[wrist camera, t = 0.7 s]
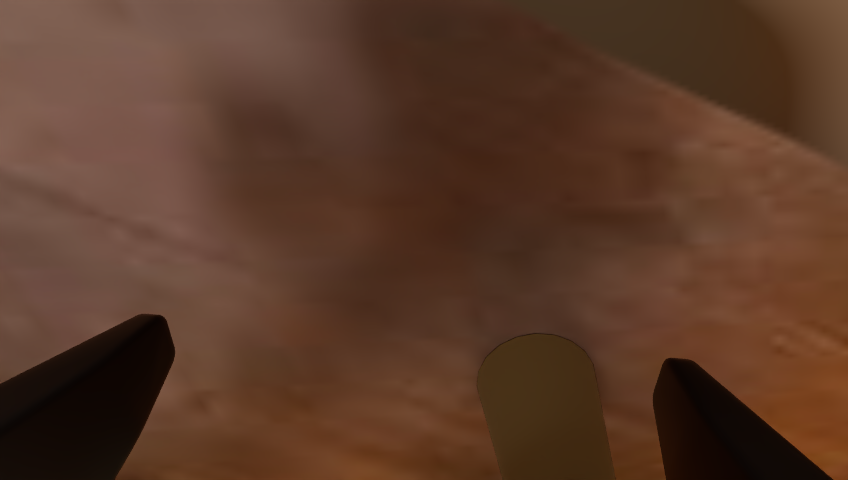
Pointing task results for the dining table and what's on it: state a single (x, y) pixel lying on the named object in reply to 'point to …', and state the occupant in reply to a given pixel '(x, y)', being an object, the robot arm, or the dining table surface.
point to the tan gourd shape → (544, 411)
